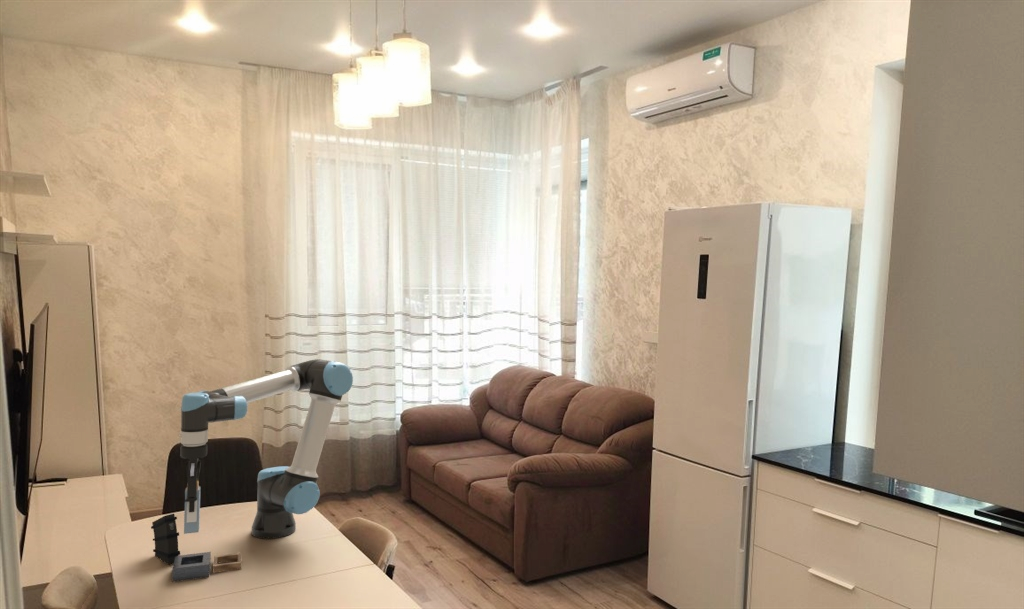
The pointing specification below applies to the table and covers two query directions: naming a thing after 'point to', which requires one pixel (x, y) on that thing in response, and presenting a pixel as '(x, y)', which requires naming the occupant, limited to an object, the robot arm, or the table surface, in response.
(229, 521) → the table surface
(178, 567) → the port
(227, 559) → the brown square frame
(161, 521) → the magazine
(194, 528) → the plug
